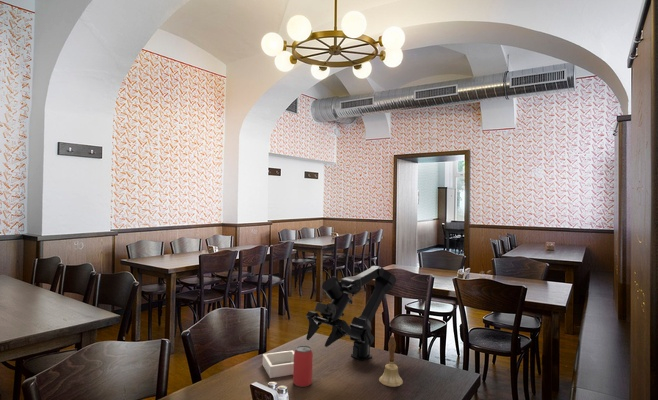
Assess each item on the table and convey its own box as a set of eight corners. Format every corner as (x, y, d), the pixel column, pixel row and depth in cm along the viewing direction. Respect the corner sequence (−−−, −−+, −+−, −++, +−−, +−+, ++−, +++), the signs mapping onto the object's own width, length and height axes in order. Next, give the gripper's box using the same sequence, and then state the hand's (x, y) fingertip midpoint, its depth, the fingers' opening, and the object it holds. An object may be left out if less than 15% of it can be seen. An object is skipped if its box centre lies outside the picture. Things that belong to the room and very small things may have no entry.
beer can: (309, 388, 128) (310, 352, 129) (290, 386, 130) (291, 350, 130) (314, 380, 135) (314, 345, 135) (296, 377, 136) (297, 344, 136)
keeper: (292, 360, 151) (292, 350, 151) (302, 373, 140) (302, 362, 140) (262, 364, 147) (262, 354, 147) (270, 378, 136) (270, 366, 136)
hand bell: (407, 381, 136) (408, 336, 136) (394, 389, 130) (395, 342, 130) (387, 373, 141) (388, 330, 141) (374, 381, 135) (375, 335, 135)
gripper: (309, 289, 148) (287, 324, 139) (346, 298, 135) (324, 337, 127) (323, 306, 153) (302, 340, 145) (360, 316, 140) (339, 354, 132)
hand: (316, 342), depth 137 cm, fingers open, 9 cm apart
